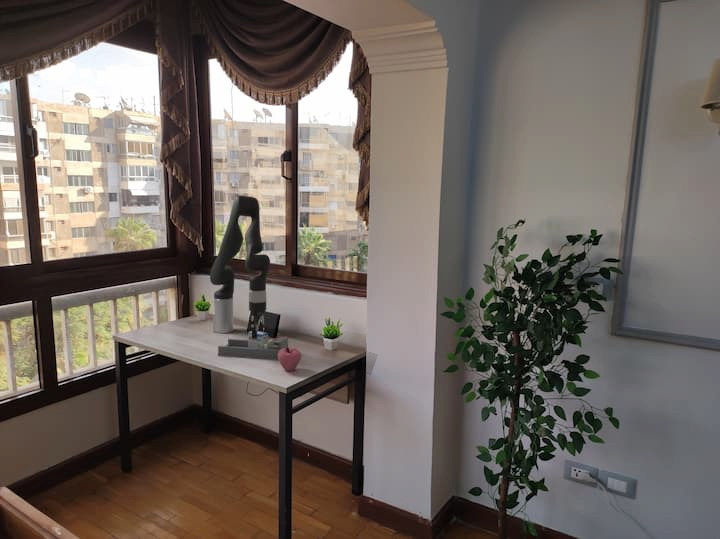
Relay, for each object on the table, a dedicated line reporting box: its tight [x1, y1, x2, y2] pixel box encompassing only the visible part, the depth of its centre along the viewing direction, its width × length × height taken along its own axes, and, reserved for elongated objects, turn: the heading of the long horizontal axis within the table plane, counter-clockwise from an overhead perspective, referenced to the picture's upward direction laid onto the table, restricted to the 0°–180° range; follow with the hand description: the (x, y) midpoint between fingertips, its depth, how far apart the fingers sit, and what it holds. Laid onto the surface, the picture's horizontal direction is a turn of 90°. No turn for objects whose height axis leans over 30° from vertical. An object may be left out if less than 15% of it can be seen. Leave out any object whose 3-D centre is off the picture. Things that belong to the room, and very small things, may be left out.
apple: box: [278, 346, 302, 372], centre depth 214 cm, size 10×9×10 cm
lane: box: [217, 336, 289, 361], centre depth 234 cm, size 28×13×7 cm, turn 82°
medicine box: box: [247, 330, 269, 349], centre depth 234 cm, size 8×4×9 cm, turn 65°
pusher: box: [264, 338, 279, 349], centre depth 233 cm, size 5×9×4 cm, turn 172°
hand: (257, 335), depth 233 cm, fingers open, 8 cm apart
